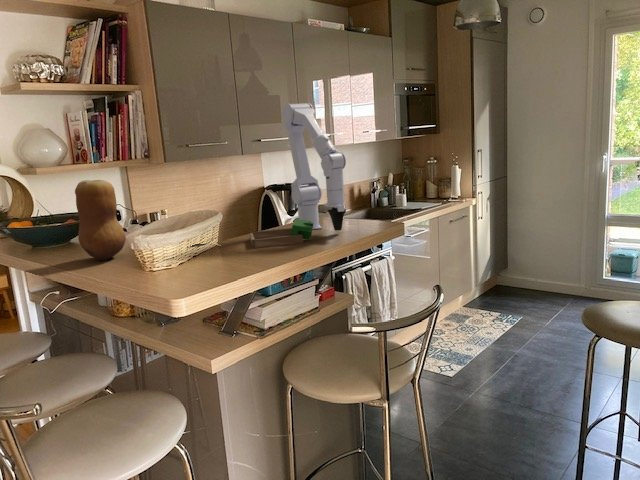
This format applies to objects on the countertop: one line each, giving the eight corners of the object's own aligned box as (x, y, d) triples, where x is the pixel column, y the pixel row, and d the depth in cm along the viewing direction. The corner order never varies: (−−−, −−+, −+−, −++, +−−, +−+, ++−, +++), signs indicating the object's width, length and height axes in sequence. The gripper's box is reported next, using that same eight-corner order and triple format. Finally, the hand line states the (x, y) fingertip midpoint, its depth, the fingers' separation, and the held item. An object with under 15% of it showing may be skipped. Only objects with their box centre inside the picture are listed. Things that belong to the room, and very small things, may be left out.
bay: (250, 239, 176) (249, 232, 175) (296, 234, 179) (296, 227, 178) (252, 248, 162) (251, 240, 162) (302, 242, 165) (302, 234, 165)
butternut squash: (137, 254, 166) (125, 176, 160) (101, 265, 154) (87, 182, 149) (107, 252, 172) (95, 177, 167) (72, 263, 161) (57, 182, 156)
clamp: (307, 253, 168) (310, 231, 163) (288, 250, 169) (291, 227, 163) (312, 233, 178) (315, 211, 173) (295, 230, 178) (298, 208, 173)
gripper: (319, 188, 177) (322, 227, 180) (327, 193, 163) (330, 235, 166) (339, 186, 178) (341, 225, 181) (349, 190, 164) (352, 232, 167)
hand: (337, 229), depth 174 cm, fingers closed
